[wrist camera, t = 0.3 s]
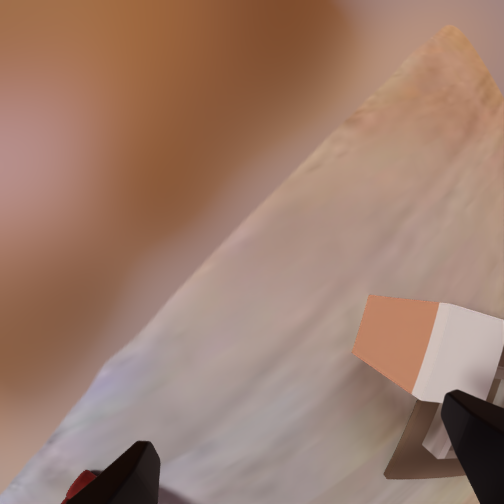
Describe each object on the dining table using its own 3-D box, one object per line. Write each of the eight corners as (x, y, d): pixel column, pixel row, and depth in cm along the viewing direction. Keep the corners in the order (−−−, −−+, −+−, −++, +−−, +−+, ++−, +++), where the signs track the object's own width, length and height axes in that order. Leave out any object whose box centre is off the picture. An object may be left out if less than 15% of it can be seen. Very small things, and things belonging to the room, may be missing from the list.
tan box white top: (400, 363, 23) (483, 406, 12) (351, 352, 23) (420, 400, 12) (417, 308, 23) (509, 321, 12) (368, 294, 23) (450, 303, 12)
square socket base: (470, 470, 21) (489, 485, 17) (383, 474, 22) (399, 496, 18) (523, 330, 23) (549, 334, 19) (446, 308, 23) (473, 311, 19)
